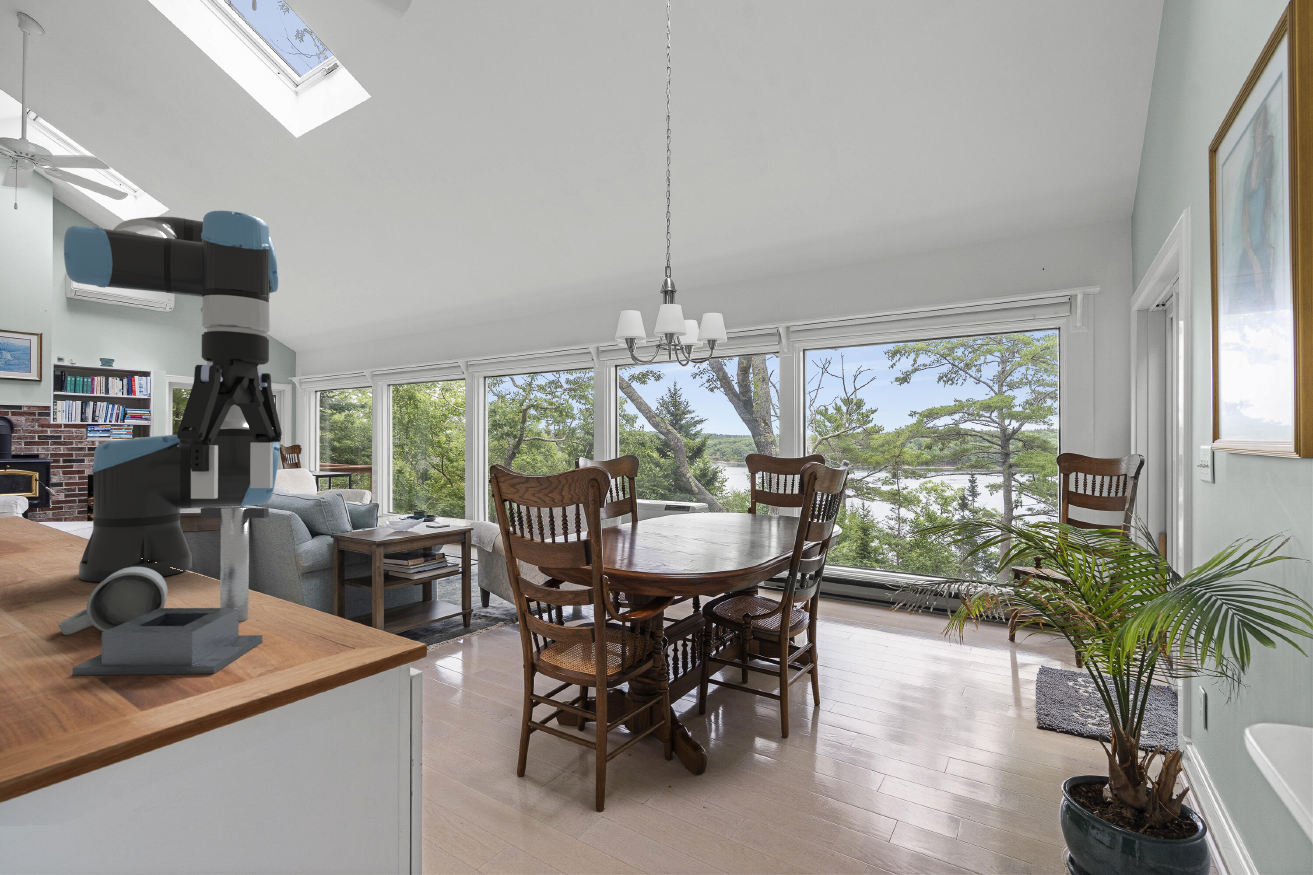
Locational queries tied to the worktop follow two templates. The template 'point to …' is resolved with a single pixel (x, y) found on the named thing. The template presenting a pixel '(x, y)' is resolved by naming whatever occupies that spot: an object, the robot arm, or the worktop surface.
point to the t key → (234, 554)
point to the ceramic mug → (120, 600)
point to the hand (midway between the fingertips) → (235, 493)
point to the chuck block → (171, 643)
